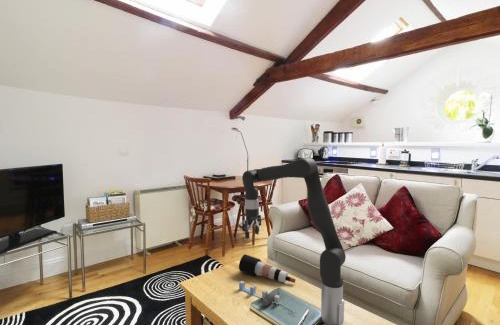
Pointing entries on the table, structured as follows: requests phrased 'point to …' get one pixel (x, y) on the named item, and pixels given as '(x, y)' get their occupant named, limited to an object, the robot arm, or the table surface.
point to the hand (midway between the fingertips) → (252, 236)
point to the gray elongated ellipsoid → (270, 297)
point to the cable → (262, 269)
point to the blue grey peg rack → (253, 292)
